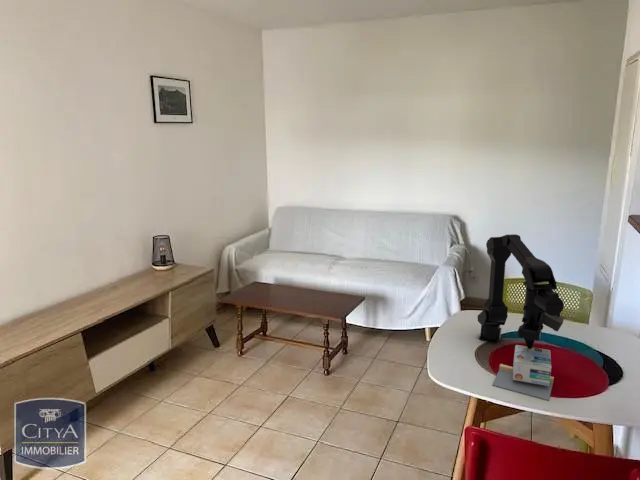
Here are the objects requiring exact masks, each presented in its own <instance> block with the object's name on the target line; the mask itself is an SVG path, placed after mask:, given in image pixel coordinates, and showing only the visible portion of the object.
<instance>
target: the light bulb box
mask: <svg viewBox="0 0 640 480" xmlns="http://www.w3.org/2000/svg"><path fill="white" fill-rule="evenodd" d="M512 365H513V366H512V367H513V380H517V381H523V382H529V383H534V384H540V385H546V386H549V381H550V376H551V375H552V374H551V373H552V358H551V350H550V349H545V348H539V347H538V348H537V347H532V349H528V347H527V345H526V346H525V345H519V344H516V345H515V346H514V355H513V363H512Z"/></svg>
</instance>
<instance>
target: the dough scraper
mask: <svg viewBox="0 0 640 480" xmlns="http://www.w3.org/2000/svg"><path fill="white" fill-rule="evenodd" d="M498 367H499V368H498V372H497V373H496V376H495V378H494V379H493V382H492V385H491V386H492V387H495V386H496V387H495V388H499V389H502V390H507V391H511V392H515V393H517V394H522V395H525V396H529V397H532V398H536V399H540V400H544V401H550V397H551V394H552V389H553V384H554V379H555V377H554V376H551V375H550V381H549V386H546V385H540V384H534V383H529V382H523V381H517V380H513V366H510V365H507V364H503V363H500V364H499V366H498Z"/></svg>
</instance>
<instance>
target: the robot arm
mask: <svg viewBox="0 0 640 480" xmlns="http://www.w3.org/2000/svg"><path fill="white" fill-rule="evenodd" d="M485 245H486V253H487V255H488V257H489V259H490V271H489V288H488V298H487V300H486V301H485V302H484V304H483V305H482V311H481V312H480V313H479V314H478V315H477V322H478V323H479V324H480V336H479V337H478V339H479V340H480V341H485V342H489V343H494V344H497V343H498V342H499V341H500V340H501V336H502V327H501V326H505V324H506V322H507V319H508V315H509V314H508V310H509V307H508V306H507V305H506V304H505V302H504V301H503V299H504V287H505V286H504V285H505V274H506V262H507V260H509V258H510V257H511V255H512V256H513V257H514V258H515V259H516V262H518V264H519V265H520V266H521V274H522V276H523V278H524V279H525V281H524V282H523V283H522V285H523V286H524V287H525V293H524V294H525V296H524V304H523V306H522V307H523V308H522V311H523V316H522V319H521V323H522V324H521V325H520V326H519V327H518V330H517V334H516V335H517V337H518V338H522V339H523V340H524V342H525V344H526V346H527V347H528V349H532V347H533V346H534V343H535V341H537V342H538V341H540V339H541V335H542V332H543V329H544V326H546V327H548V328H550V329H552V330H553V331H555V332H559V330H560V328H561V327H562V326H563V323H564V320H565V319H564V317H563V316H561V314H562V312H563V310H564V308H565V304H564V301H563V299H561V298H560V293H558V292H557V290H558V286H557V280H556V278H555V276H554V272H553V269H552V268H551V266H550V265H549V264H548V263H547V262H546V261H544V260H542V259H539V258H538V257H536V256H535V255H534V254H533V252H532V251H530V249H529V248H528V247H527V245H526V244H525V243H524V242H523V240H522V237H521V236H520V235H518V234H514V233H513V234H505V235H502V236H492V237H489V238H488V239H487V240H486V244H485ZM554 290H556V291H554ZM533 348H534V347H533Z"/></svg>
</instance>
